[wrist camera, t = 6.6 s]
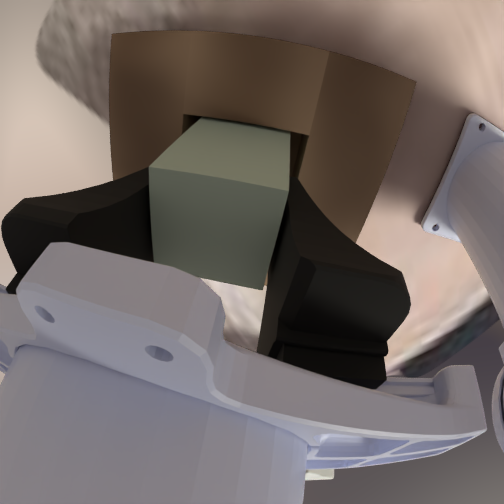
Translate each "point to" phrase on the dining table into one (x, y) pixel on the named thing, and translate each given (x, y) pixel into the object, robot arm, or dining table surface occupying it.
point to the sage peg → (220, 200)
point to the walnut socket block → (261, 108)
